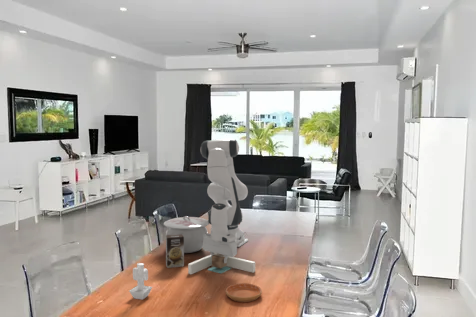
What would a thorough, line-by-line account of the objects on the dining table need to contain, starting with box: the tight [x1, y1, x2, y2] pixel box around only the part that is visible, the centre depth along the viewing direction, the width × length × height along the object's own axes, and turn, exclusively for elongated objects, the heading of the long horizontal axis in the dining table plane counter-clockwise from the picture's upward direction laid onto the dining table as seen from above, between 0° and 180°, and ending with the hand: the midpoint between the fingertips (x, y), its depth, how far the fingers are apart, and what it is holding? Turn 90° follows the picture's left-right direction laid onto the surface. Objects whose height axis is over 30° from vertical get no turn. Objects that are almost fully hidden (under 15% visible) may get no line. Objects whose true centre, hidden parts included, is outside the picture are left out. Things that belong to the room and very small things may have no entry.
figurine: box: [128, 262, 153, 300], centre depth 182 cm, size 7×9×15 cm
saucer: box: [225, 282, 263, 303], centre depth 184 cm, size 16×16×3 cm
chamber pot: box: [163, 215, 210, 254], centre depth 249 cm, size 28×28×21 cm
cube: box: [211, 254, 228, 268], centre depth 216 cm, size 6×6×6 cm
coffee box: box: [165, 234, 185, 269], centre depth 222 cm, size 9×6×16 cm
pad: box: [206, 266, 232, 274], centre depth 217 cm, size 9×9×1 cm
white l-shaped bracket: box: [187, 253, 256, 275], centre depth 212 cm, size 22×26×5 cm
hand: (219, 261), depth 216 cm, fingers closed on cube, 5 cm apart
